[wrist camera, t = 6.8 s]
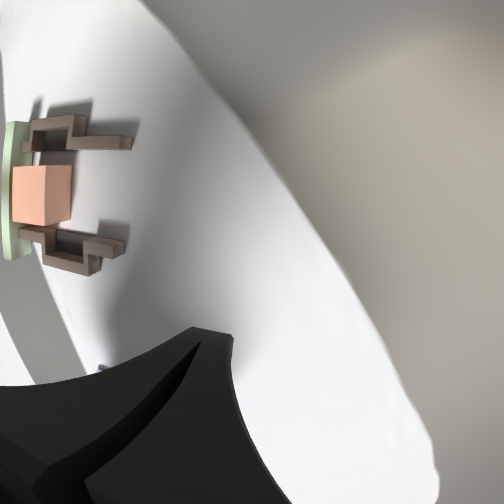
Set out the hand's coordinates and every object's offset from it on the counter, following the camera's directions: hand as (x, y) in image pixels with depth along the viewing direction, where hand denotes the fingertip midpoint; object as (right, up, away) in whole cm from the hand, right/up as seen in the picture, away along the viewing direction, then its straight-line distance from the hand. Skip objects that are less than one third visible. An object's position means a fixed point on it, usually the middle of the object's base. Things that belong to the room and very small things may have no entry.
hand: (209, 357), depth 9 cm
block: (-14, +8, +10) cm, 19 cm away
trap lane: (-12, +8, +9) cm, 17 cm away
